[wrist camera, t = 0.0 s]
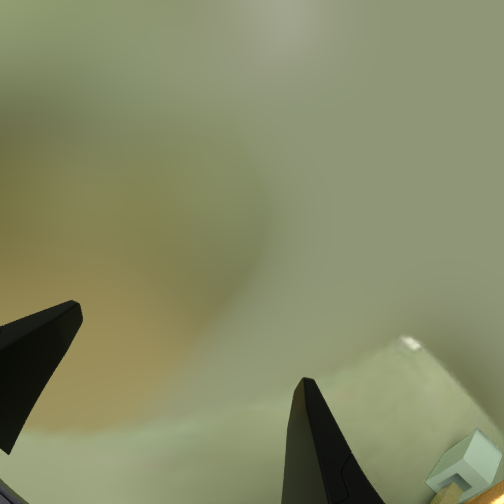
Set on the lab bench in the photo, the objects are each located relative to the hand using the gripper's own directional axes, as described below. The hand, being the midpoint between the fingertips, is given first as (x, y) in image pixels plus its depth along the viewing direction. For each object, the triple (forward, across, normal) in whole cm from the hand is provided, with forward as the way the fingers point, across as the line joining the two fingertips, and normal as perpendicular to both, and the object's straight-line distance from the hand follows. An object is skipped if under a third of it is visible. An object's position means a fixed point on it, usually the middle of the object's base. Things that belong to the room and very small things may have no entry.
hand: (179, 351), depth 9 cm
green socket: (0, -30, +17) cm, 34 cm away
